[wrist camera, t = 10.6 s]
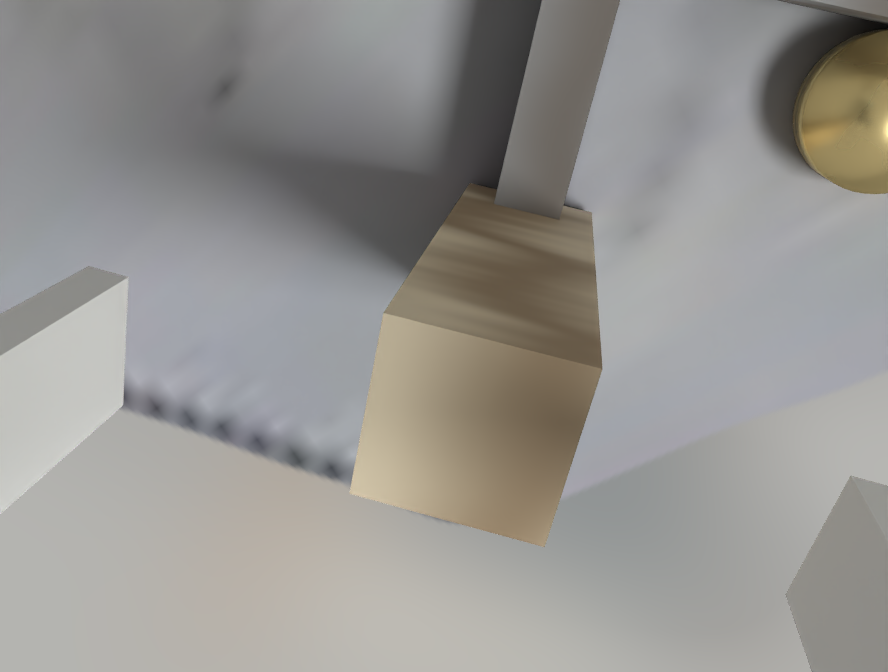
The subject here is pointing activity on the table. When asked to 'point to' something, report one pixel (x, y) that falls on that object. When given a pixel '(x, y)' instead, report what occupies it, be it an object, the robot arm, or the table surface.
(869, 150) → the golden knob
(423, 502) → the hook
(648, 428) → the table surface
